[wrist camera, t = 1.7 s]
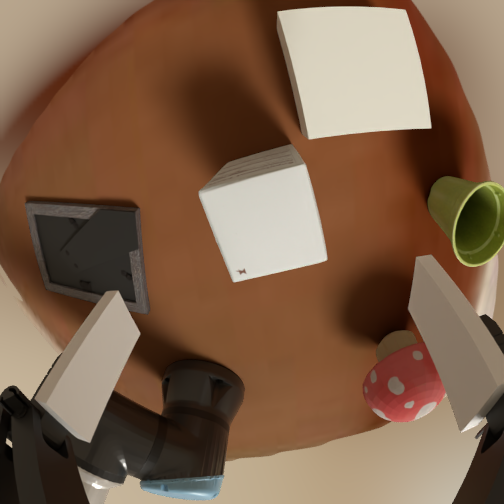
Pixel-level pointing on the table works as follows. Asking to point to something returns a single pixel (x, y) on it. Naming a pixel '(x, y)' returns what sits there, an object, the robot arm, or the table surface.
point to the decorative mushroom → (403, 379)
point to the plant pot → (469, 217)
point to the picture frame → (90, 251)
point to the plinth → (353, 70)
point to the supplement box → (264, 214)
